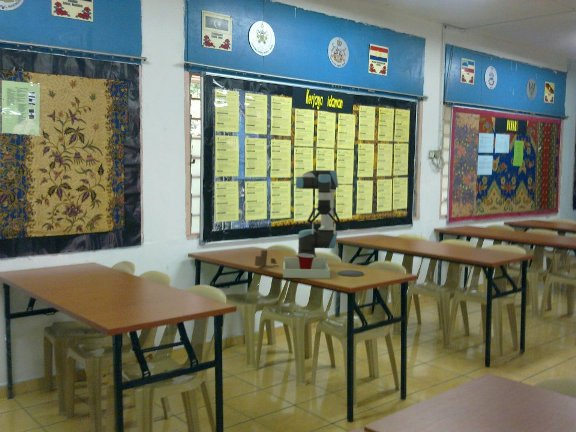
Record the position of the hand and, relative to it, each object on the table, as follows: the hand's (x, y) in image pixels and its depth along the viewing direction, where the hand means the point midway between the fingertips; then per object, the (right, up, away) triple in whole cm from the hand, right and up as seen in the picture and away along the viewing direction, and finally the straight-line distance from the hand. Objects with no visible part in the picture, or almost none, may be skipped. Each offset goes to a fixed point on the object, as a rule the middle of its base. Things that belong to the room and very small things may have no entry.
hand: (323, 234), depth 371 cm
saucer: (+17, -25, +4) cm, 31 cm away
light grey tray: (-11, -25, +4) cm, 27 cm away
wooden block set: (-38, -22, +28) cm, 53 cm away
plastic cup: (-11, -25, +4) cm, 28 cm away
